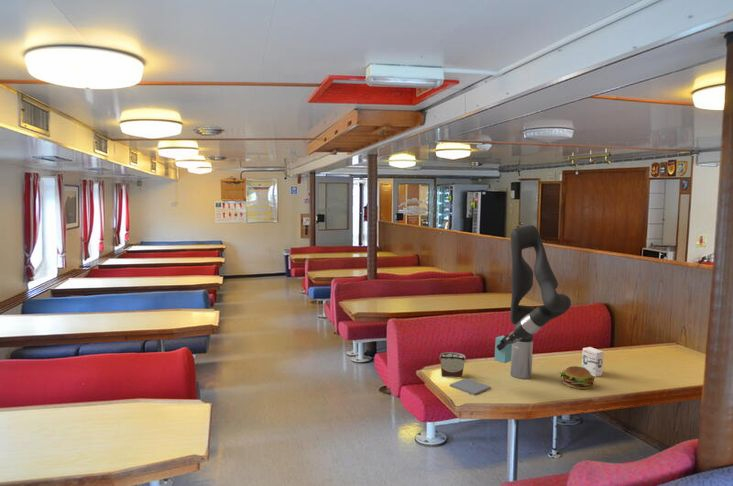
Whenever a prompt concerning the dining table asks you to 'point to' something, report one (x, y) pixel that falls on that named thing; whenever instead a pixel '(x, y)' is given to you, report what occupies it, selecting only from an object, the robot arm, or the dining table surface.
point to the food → (577, 377)
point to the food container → (452, 364)
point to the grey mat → (470, 386)
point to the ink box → (592, 360)
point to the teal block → (503, 351)
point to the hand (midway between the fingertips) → (501, 347)
